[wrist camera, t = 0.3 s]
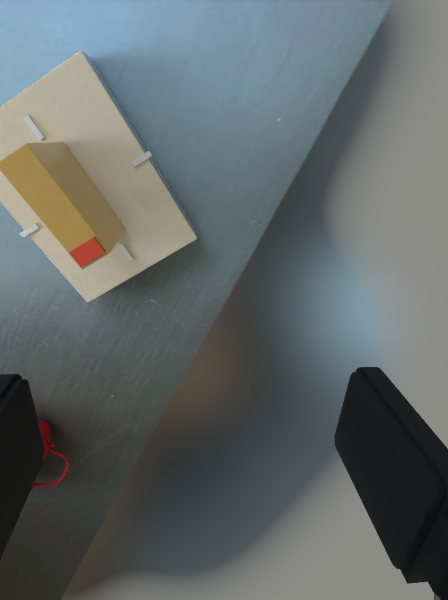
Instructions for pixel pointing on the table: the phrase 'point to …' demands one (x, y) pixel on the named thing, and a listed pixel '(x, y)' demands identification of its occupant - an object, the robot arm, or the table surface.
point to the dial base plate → (94, 173)
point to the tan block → (64, 199)
